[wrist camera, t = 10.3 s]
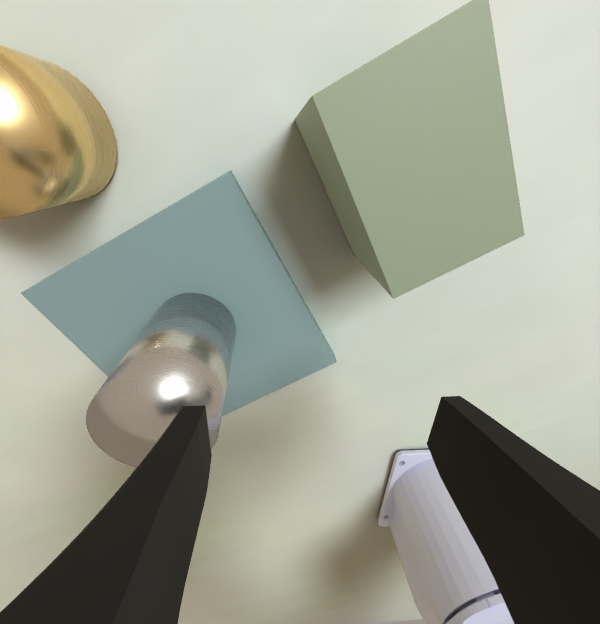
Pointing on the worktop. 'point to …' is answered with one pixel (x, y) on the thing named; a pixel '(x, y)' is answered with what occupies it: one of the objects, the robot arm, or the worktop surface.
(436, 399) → the worktop surface
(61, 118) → the cylinder
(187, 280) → the parts mat
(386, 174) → the block
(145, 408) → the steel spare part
